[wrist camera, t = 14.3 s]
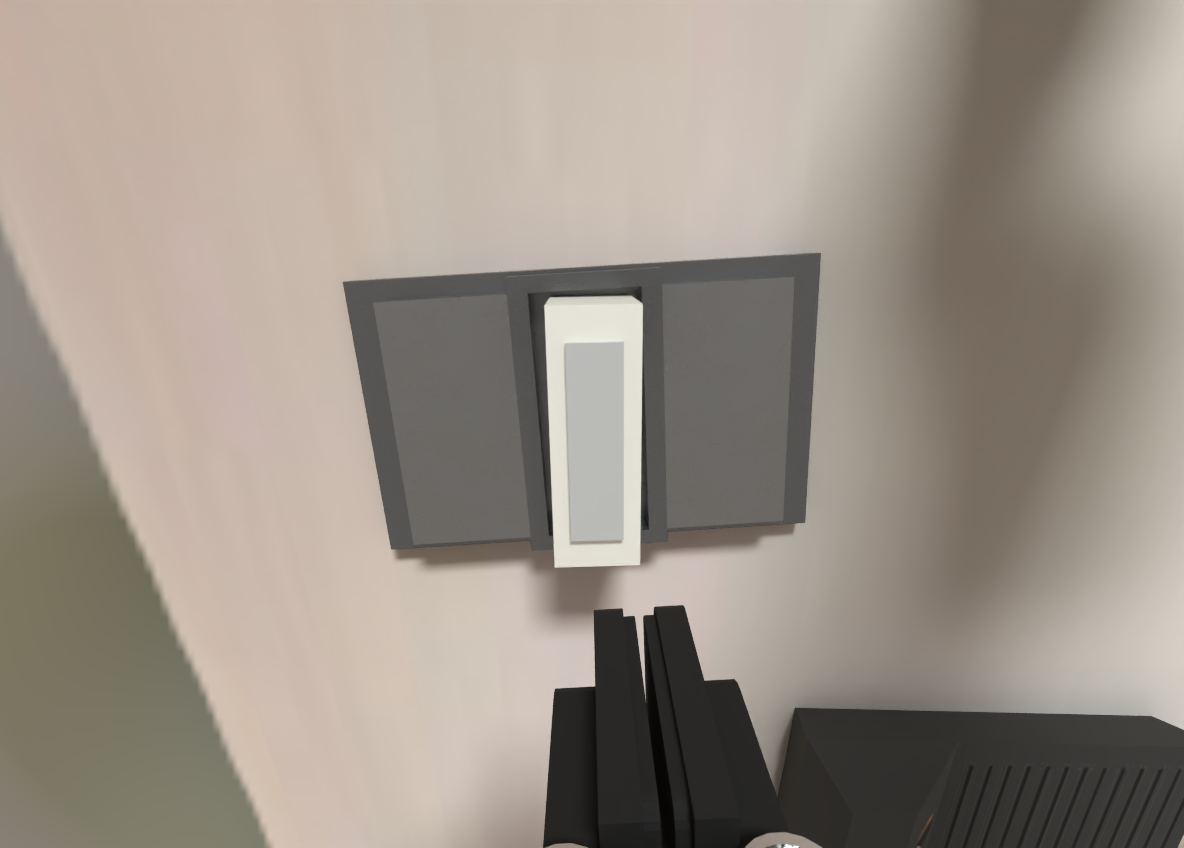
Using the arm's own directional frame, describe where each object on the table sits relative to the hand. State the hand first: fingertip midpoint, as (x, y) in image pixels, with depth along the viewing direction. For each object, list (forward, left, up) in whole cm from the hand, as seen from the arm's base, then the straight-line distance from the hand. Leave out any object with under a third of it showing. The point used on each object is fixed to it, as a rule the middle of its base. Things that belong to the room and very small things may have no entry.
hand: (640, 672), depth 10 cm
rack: (0, +1, -22) cm, 22 cm away
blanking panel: (0, 0, -21) cm, 20 cm away
